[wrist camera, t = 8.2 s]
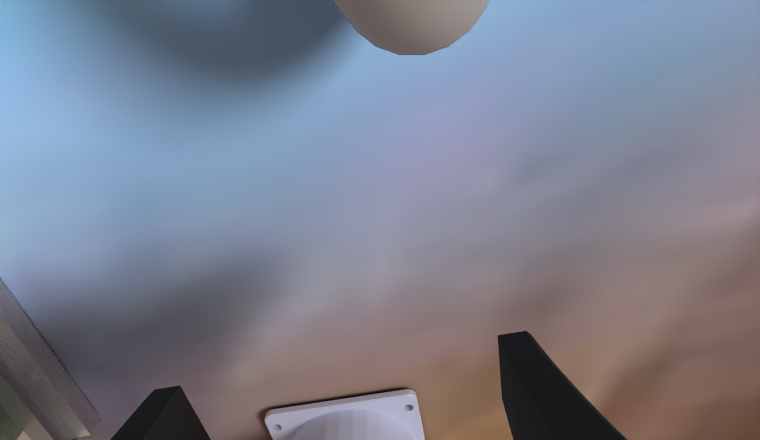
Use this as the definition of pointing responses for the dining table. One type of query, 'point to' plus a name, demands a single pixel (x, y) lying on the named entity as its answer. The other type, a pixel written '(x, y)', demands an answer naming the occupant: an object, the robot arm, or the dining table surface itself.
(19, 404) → the tray
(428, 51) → the donut
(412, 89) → the dining table surface
